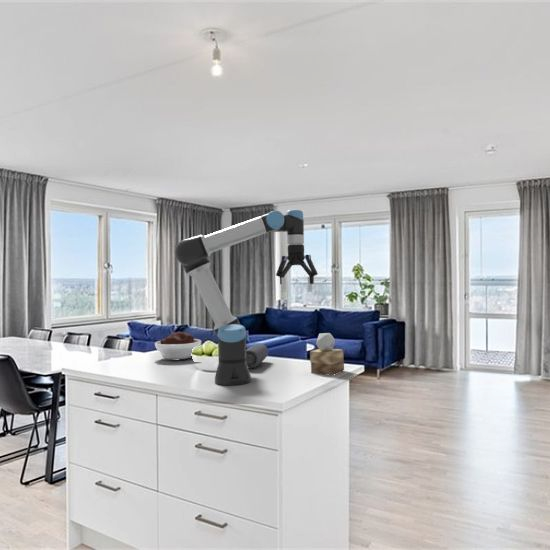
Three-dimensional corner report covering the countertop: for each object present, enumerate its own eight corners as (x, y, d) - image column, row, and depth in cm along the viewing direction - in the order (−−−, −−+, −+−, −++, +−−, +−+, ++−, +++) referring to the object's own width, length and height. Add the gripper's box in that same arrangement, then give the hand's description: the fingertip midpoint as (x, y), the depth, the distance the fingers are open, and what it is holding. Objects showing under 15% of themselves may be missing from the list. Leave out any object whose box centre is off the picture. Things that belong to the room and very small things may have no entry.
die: (330, 353, 215) (340, 335, 218) (313, 344, 216) (323, 326, 219) (327, 357, 223) (337, 339, 226) (311, 348, 224) (320, 330, 227)
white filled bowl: (145, 361, 259) (144, 333, 259) (173, 354, 282) (172, 328, 282) (185, 364, 250) (184, 334, 250) (210, 356, 272) (209, 329, 273)
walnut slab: (311, 373, 219) (311, 362, 219) (322, 369, 229) (322, 358, 229) (333, 375, 213) (333, 364, 213) (344, 371, 223) (343, 360, 223)
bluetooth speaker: (251, 361, 252) (251, 342, 252) (269, 361, 250) (268, 342, 250) (239, 370, 230) (239, 349, 230) (259, 370, 228) (258, 349, 228)
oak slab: (310, 362, 220) (310, 351, 220) (322, 358, 229) (322, 348, 229) (331, 364, 213) (331, 353, 213) (343, 360, 222) (343, 349, 222)
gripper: (324, 243, 217) (325, 291, 217) (276, 246, 230) (277, 291, 230) (316, 242, 210) (317, 291, 210) (268, 245, 224) (269, 291, 224)
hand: (296, 291), depth 220 cm, fingers open, 13 cm apart
